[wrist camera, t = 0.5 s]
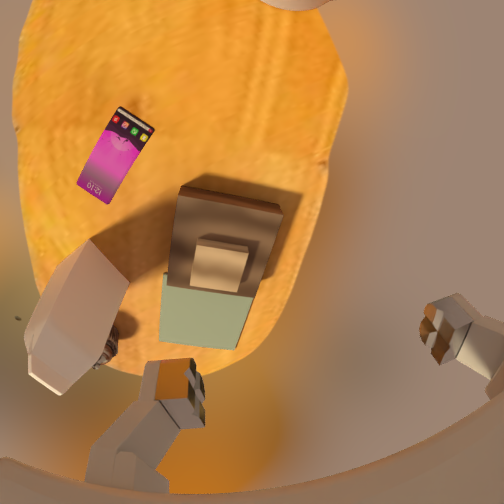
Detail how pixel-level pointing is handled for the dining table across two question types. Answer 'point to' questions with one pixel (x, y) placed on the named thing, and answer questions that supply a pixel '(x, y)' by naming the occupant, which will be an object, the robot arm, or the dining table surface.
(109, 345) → the cupcake
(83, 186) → the smartphone
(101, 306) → the milk
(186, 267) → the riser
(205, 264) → the coaster
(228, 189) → the dining table surface
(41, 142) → the dining table surface
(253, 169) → the dining table surface
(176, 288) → the mat
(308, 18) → the dining table surface
